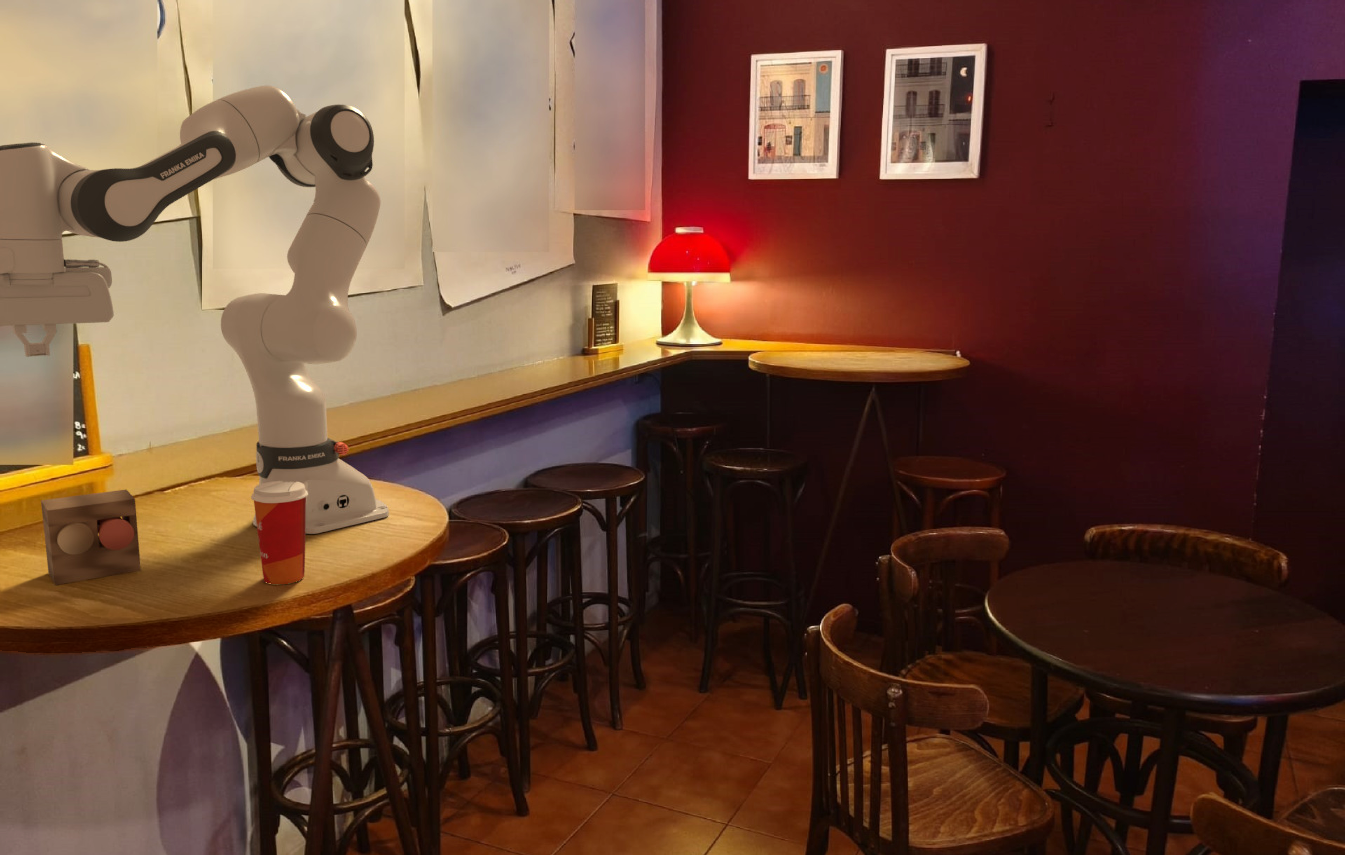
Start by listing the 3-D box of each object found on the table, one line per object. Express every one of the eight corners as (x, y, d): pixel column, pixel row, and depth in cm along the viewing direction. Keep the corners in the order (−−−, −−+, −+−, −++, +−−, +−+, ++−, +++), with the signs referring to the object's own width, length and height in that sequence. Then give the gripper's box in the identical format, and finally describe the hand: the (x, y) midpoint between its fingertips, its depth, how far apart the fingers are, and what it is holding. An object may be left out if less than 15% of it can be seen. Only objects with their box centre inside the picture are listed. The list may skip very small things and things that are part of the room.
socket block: (132, 558, 153) (126, 489, 150) (142, 572, 147) (136, 500, 145) (48, 572, 146) (41, 500, 144) (55, 587, 141) (48, 512, 138)
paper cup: (272, 567, 151) (267, 478, 148) (321, 571, 150) (317, 481, 147) (245, 586, 143) (239, 492, 140) (296, 590, 142) (291, 495, 140)
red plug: (120, 528, 153) (118, 500, 153) (135, 546, 145) (132, 518, 144) (87, 533, 151) (85, 505, 150) (101, 552, 143) (98, 522, 142)
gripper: (106, 258, 151) (113, 349, 154) (-61, 258, 139) (-49, 357, 142) (114, 260, 147) (122, 354, 149) (-58, 260, 134) (-46, 363, 137)
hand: (37, 355), depth 145 cm, fingers closed
